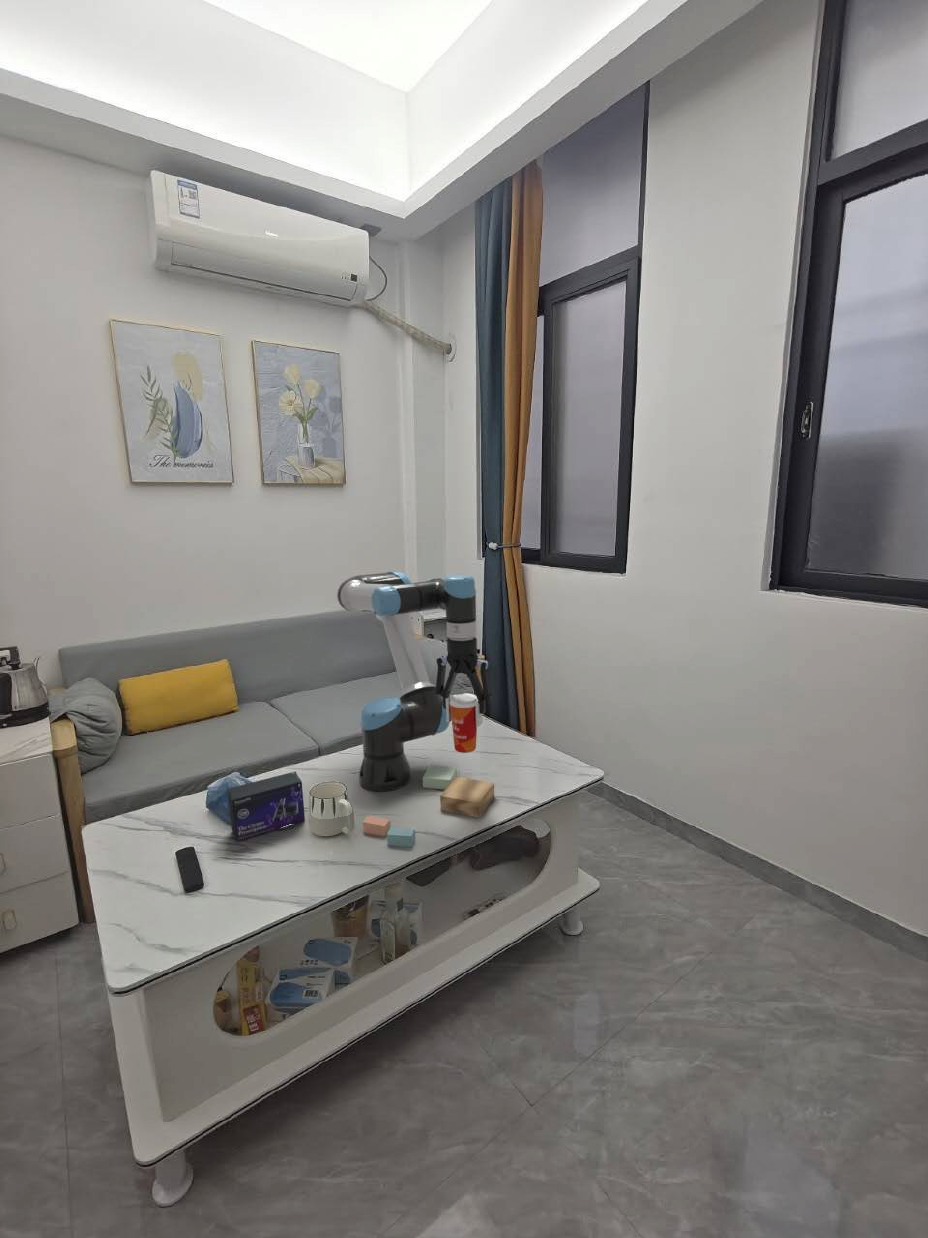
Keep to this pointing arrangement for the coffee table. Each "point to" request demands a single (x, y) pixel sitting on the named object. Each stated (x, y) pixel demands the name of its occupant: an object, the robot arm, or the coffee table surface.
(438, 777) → the sage pad
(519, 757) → the coffee table surface
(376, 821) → the brick
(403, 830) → the brick
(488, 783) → the oak block
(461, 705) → the paper cup
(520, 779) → the coffee table surface
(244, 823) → the box
